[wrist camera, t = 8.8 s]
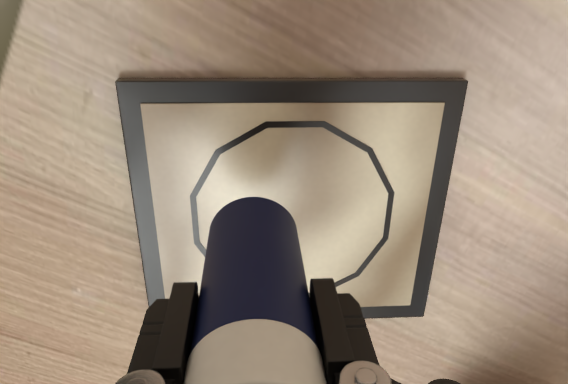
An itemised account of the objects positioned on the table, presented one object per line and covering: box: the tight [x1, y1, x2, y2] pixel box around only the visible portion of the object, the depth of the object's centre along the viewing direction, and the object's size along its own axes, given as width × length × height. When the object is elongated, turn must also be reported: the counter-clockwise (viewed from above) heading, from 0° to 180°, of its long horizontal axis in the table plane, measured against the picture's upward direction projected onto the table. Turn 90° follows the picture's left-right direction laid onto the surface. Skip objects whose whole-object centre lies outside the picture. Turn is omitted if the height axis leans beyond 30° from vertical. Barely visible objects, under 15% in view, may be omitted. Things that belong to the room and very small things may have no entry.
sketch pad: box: [115, 78, 468, 319], centre depth 24 cm, size 16×14×1 cm
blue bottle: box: [183, 197, 327, 384], centre depth 15 cm, size 4×4×9 cm
